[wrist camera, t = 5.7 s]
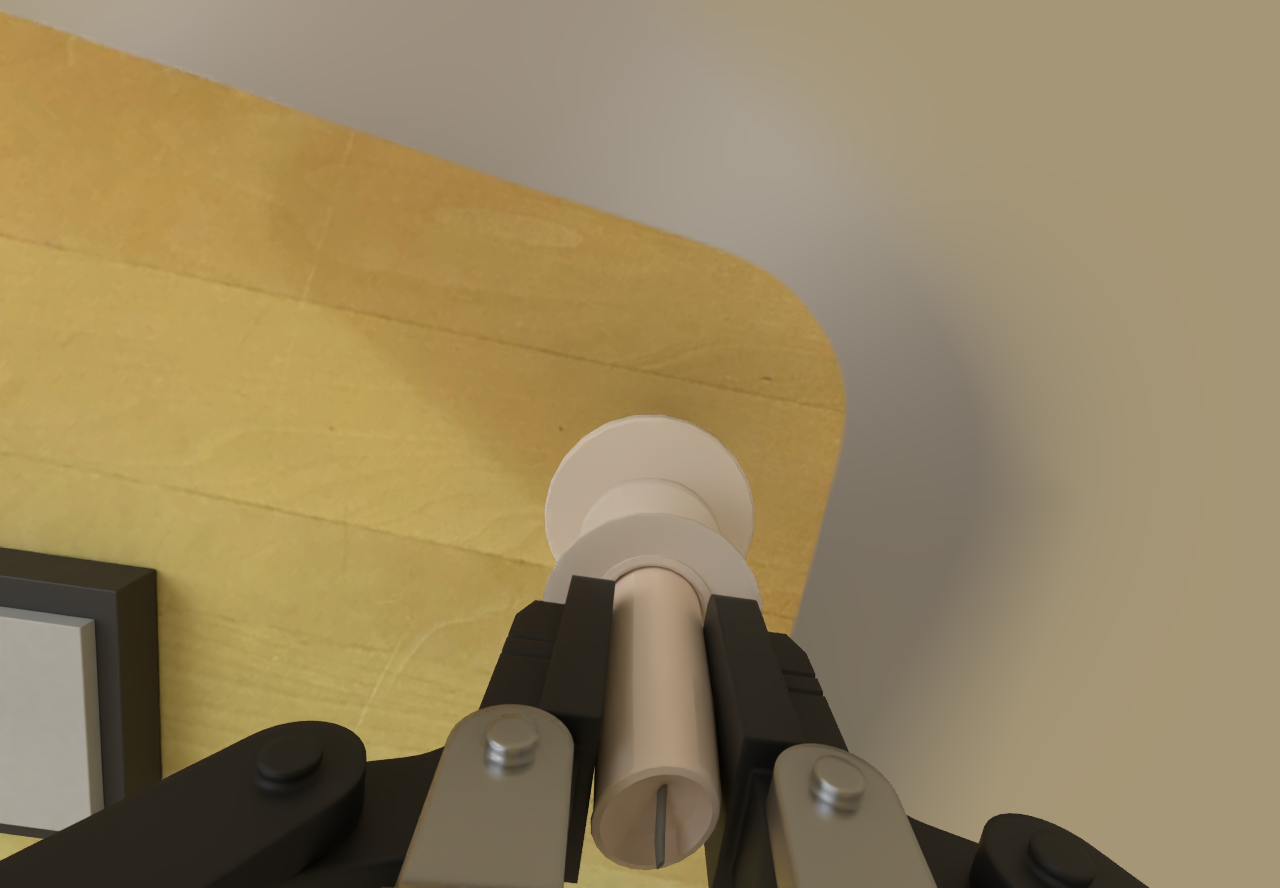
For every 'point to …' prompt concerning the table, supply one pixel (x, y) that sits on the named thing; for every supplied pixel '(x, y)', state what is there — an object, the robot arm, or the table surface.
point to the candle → (654, 619)
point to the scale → (74, 689)
